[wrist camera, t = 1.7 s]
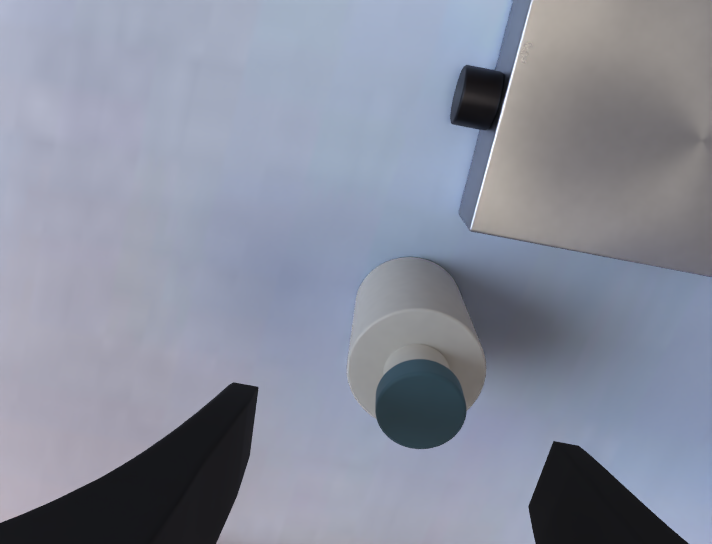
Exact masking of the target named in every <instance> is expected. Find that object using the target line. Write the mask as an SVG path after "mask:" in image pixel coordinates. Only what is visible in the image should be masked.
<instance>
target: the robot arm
mask: <svg viewBox="0 0 712 544" xmlns="http://www.w3.org/2000/svg"><path fill="white" fill-rule="evenodd" d="M257 395H258V387H256V386H250V385H245V384H239V383H234V382H233V383H232V384H230V385H229V386H227V387H226V388H225V389H224V390H223V391H222V392H221V393H219V394H218V395H217V396H216V397H215V398H214V399H213V400H211V401H210V402H209V403H208V404H207V405H205V406H204V407H203V408H202V409H201V410H199V411H198V412H197V413H196V414H194V415H193V416H192V417H191V418H189V419H188V420H187V421H185V422H184V423H183V424H182V425H180V426H179V427H178V428H176V429H175V430H174V431H172V432H171V433H170V434H168V435H167V436H165V437H164V438H163V439H161V440H160V441H158V442H157V443H155V444H154V445H153V446H151V447H150V448H148V449H147V450H145V451H144V452H142V453H141V454H139V455H138V456H136V457H135V458H133V459H131V460H130V461H128V462H127V463H125V464H123V465H122V466H120V467H118V468H117V469H115V470H113V471H111V472H110V473H108V474H106V475H104V476H103V477H101V478H99V479H97V480H95V481H93V482H91V483H89V484H87V485H85V486H83V487H81V488H79V489H77V490H75V491H73V492H71V493H69V494H67V495H65V496H63V497H60V498H58V499H56V500H54V501H52V502H50V503H48V504H46V505H43V506H41V507H38V508H36V509H34V510H31V511H29V512H27V513H24V514H22V515H20V516H17V517H14V518H12V519H9V520H7V521H4V522H2V523H0V544H216V542H217V540H218V538H219V536H220V533H221V531H222V529H223V527H224V524H225V522H226V520H227V518H228V515H229V513H230V511H231V508H232V506H233V504H234V502H235V499H236V497H237V494H238V491H239V488H240V485H241V482H242V479H243V476H244V472H245V469H246V466H247V463H248V459H249V456H250V449H251V441H252V433H253V426H254V418H255V410H256V403H257ZM528 507H529V512H530V518H531V523H532V529H533V533H534V538H535V542H536V544H688V543H687V542H686V541H685V540H684V539H683V538H681V537H680V536H679V535H678V534H677V533H675V532H674V531H673V530H672V529H671V528H670V527H669V526H667V525H666V524H665V523H664V522H663V521H662V520H661V519H659V518H658V517H657V516H656V515H655V514H654V513H653V512H652V511H651V510H649V509H648V508H647V507H646V506H645V505H644V504H643V503H642V502H641V501H640V500H638V499H637V498H636V497H635V496H634V495H633V494H632V493H631V492H630V491H629V490H628V489H627V488H625V487H624V486H623V485H622V484H621V483H620V482H619V481H618V480H617V479H616V478H615V477H614V476H613V475H611V474H610V473H609V472H608V471H607V470H606V469H605V468H604V467H603V466H602V465H601V464H599V463H598V462H597V461H596V460H595V459H594V458H593V457H592V456H590V455H589V454H588V453H587V452H586V451H584V450H583V449H582V448H581V447H579V446H577V445H572V444H566V443H561V442H555V441H554V442H553V444H552V447H551V449H550V452H549V455H548V457H547V460H546V462H545V465H544V468H543V470H542V473H541V475H540V478H539V480H538V483H537V486H536V488H535V491H534V493H533V496H532V499H531V501H530V504H529V506H528Z"/></svg>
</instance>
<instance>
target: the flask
mask: <svg viewBox="0 0 712 544" xmlns="http://www.w3.org/2000/svg"><path fill="white" fill-rule="evenodd" d="M450 119H451V123H452V124H454V125H459V126H464V127H470V128H475V129H480V131H479V135H478V139H477V143H476V147H475V151H474V155H473V159H472V162H471V166H470V170H469V174H468V178H467V182H466V186H465V190H464V194H463V197H462V201H461V205H460V209H459V215H460V217H461V218H462V220H463V221H464V223H465V224H466V226H467V227H468V229H469V230H470V231H472V232H477V233H482V234H488V235H493V236H498V237H503V238H509V239H514V240H519V241H524V242H530V243H535V244H540V245H546V246H551V247H556V248H561V249H567V250H572V251H577V252H582V253H588V254H593V255H598V256H603V257H609V258H614V259H619V260H625V261H630V262H635V263H640V264H646V265H651V266H656V267H661V268H667V269H672V270H677V271H682V272H688V273H693V274H698V275H703V276H709V277H712V0H513V3H512V7H511V11H510V15H509V19H508V23H507V26H506V30H505V34H504V38H503V42H502V46H501V50H500V54H499V58H498V61H497V65H496V69H495V70H490V69H485V68H480V67H475V66H469V65H466V66H464V68H463V69H462V71H461V73H460V76H459V79H458V82H457V85H456V89H455V93H454V97H453V102H452V107H451V116H450Z"/></svg>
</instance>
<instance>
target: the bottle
mask: <svg viewBox="0 0 712 544" xmlns="http://www.w3.org/2000/svg"><path fill="white" fill-rule="evenodd" d="M347 377H348V383H349V386H350V389H351V391H352V393H353V395H354V397H355V398H356V400H357V401H358V403H359V404H360V405H361V406H362V408H363V409H364V410H365V411H366V412H368V413H369V414H370V415H371V416H373V417H374V418H376V419H377V422H378V424H379V426H380V428H381V429H382V431H383V432H384V433H385V434H386V435H387V436H388V437H389V438H390V439H391V440H393V441H394V442H396V443H398V444H400V445H402V446H405V447H409V448H414V449H428V448H433V447H437V446H440V445H442V444H444V443H446V442H447V441H449V440H450V439H452V438H453V437H454V436H455V435H456V434H457V433H458V432H459V430H460V429H461V427H462V425H463V423H464V421H465V417H466V411H467V410H468V409H469V408H470V407H471V406H472V405H473V403H474V402H475V401H476V399H477V398H478V396H479V394H480V392H481V390H482V387H483V385H484V381H485V377H486V359H485V355H484V351H483V349H482V346H481V344H480V341H479V339H478V336H477V334H476V331H475V329H474V326H473V323H472V321H471V318H470V316H469V313H468V311H467V308H466V306H465V303H464V301H463V298H462V296H461V293H460V291H459V288H458V286H457V284H456V282H455V281H454V279H453V278H452V277H451V275H450V274H449V273H448V272H447V271H446V270H445V269H443V268H442V267H441V266H439V265H437V264H435V263H434V262H431V261H429V260H426V259H422V258H416V257H403V258H397V259H393V260H390V261H387V262H385V263H383V264H381V265H379V266H378V267H376V268H375V269H374V270H372V271H371V272H370V273H369V274H368V275H367V276H366V278H365V279H364V280H363V282H362V284H361V285H360V287H359V290H358V292H357V296H356V302H355V309H354V316H353V324H352V331H351V338H350V346H349V353H348V361H347Z"/></svg>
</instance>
